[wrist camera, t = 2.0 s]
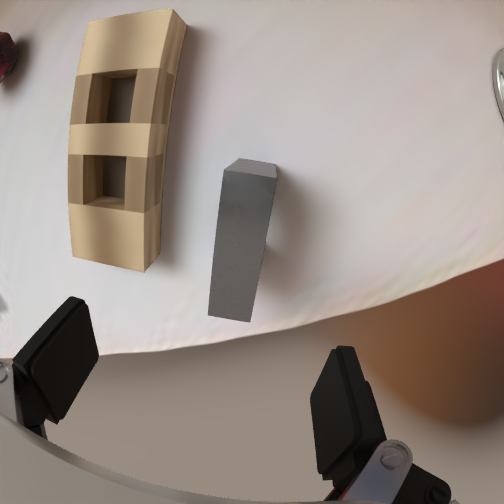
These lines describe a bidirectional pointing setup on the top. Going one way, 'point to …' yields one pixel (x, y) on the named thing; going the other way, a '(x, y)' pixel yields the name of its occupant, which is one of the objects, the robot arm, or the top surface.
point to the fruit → (6, 55)
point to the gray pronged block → (241, 237)
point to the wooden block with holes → (122, 136)
